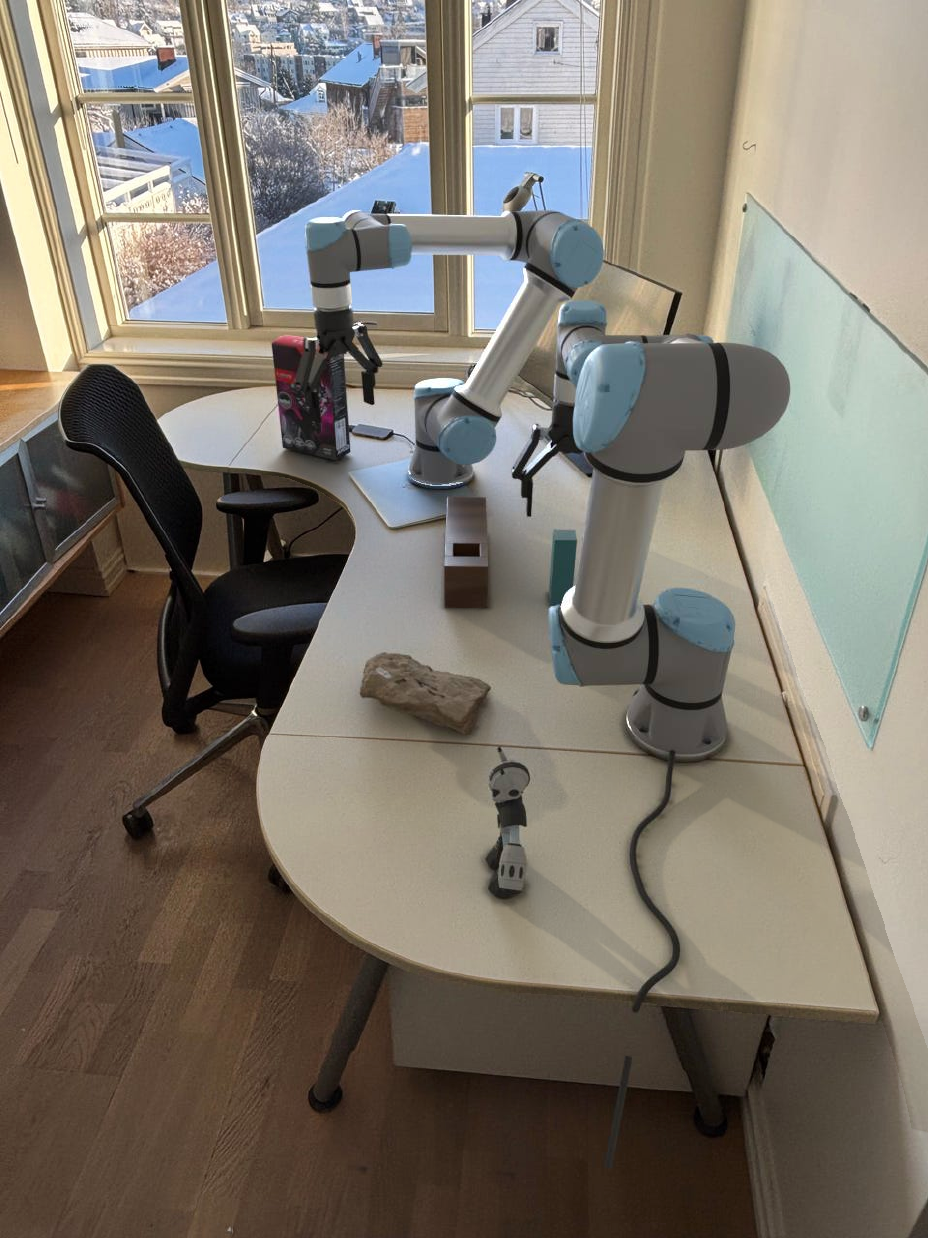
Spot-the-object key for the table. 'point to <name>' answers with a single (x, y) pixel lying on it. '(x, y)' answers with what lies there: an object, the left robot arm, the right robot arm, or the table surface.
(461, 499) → the hole block
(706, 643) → the right robot arm
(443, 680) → the stone
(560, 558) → the peg
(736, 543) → the table surface
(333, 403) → the graphics card box
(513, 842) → the robot
